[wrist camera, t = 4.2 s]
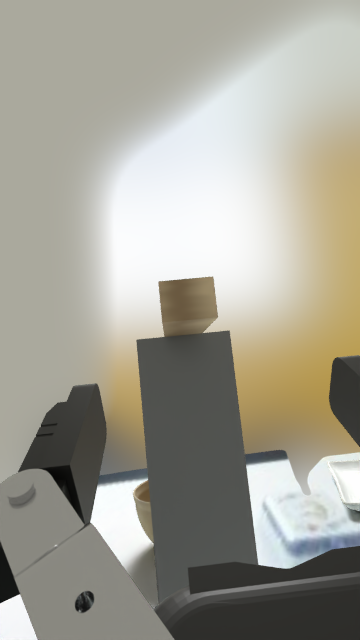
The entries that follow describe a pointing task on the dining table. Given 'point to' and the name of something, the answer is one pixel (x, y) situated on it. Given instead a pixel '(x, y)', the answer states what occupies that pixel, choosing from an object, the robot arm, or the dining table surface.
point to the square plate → (347, 481)
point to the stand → (194, 456)
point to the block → (187, 305)
